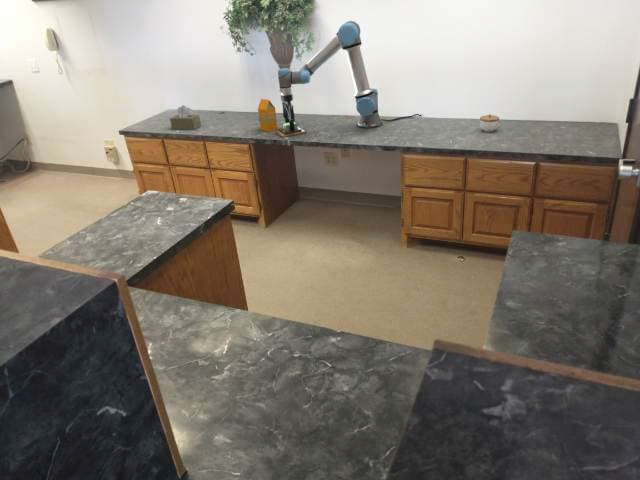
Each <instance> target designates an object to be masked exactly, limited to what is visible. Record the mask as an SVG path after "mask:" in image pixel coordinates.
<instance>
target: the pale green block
mask: <svg viewBox="0 0 640 480" xmlns="http://www.w3.org/2000/svg"><path fill="white" fill-rule="evenodd" d="M281 125H282V128H283V130H284V131H285V132H288V131H290V123H285V122H284V123H281ZM297 127H298V123H297V122H295V121H294V129H295V130H298V129H297Z"/></svg>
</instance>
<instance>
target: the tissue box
mask: <svg viewBox="0 0 640 480" xmlns="http://www.w3.org/2000/svg"><path fill="white" fill-rule="evenodd" d="M192 111H193V110H192V108H190V107H187V106H186V105H184V104H182V105H181V106H179V107H178V108H177V114H176V115H174V116H171V117H170V118H169V121H170V127H171V130H181V131H182V130H183V131H184V130H186V131H188V130H189V131H190V130H191V131H192V130H193V131H194V130H197V129H198V128H200V127H202V124H201V118H200V114H191V113H192Z"/></svg>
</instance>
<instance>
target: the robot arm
mask: <svg viewBox="0 0 640 480" xmlns="http://www.w3.org/2000/svg"><path fill="white" fill-rule="evenodd" d="M361 47H362V39H361V27H360V25H359V24H358V23H357V22H356V21H354V20H349V21H346V22H344V23H343V24H341V25H340V26H339V29H338V31H337V32H336V33H335V37H333V38H332V39H331V40H330V41H329V42H328V43H327V44H325V46H324V47H322V48H321V49H320V50H319V51H318V52H317V53H316V54H315V55H313V57H312V58H311V59H309V61H307V62H306V64H304V65H303V66H302V67H301V68H300V69H299V70H297V71H291V70H290V68H289V67H283V68H279V69H278V70H277V77H278V85H279V90H278V91H279V94H280V102H281V104H282V114H283V115H282V116H283V118H284V123H290V131H293V130H295V129H294V122H295V121H296V119H295V118H296V117H295V112H294V105H293V104H292V102H293V100H294V97H293V86H292V85H306V84H310V83H311V77H312V76H313V75H314V74H315V73H316V72H317V71H318V70H320V69H321V67H323V66H324V65H325V64H326V63H327V62H328V61H330V59H331V58H333V57H334V56H335V55H336V54H337V53H339V52H340V50H341V49H342V51H344V52H345V54H346V57H347V62H348V66H349V70H350V74H351V77H352V82H353V85H354V90H355V93H354V99H355V103H356V104H355V108H356V111H357V113H358V114H359V116H358V120H357V126H358V127H359V128H363V129H372V128H377V127H380V126H381V125H382V122H393V121H396V120H401V119H406V118H407V119H408V118H413V117H416V116H419V117H422V114H420V113H415V114H412V115H407V116H400V117H396V118H393V119H381V116H380V114H379V98H378V97H379V92H378V89H377V88H371V87H370V82H369V79H368V76H367V71H366V66H365V62H364V59H363V58H364V57H363V55H362V50H361ZM419 114H420V115H419Z"/></svg>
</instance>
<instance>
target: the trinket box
mask: <svg viewBox="0 0 640 480" xmlns="http://www.w3.org/2000/svg"><path fill="white" fill-rule="evenodd" d="M499 122H500V117H499V115H493V114H486V115H481V116H480V117H479V125H480V128H481V130H482V131H483V132H485V133H491V132H494V131H495V130H496V129H497V128H498V126H499Z"/></svg>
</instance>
